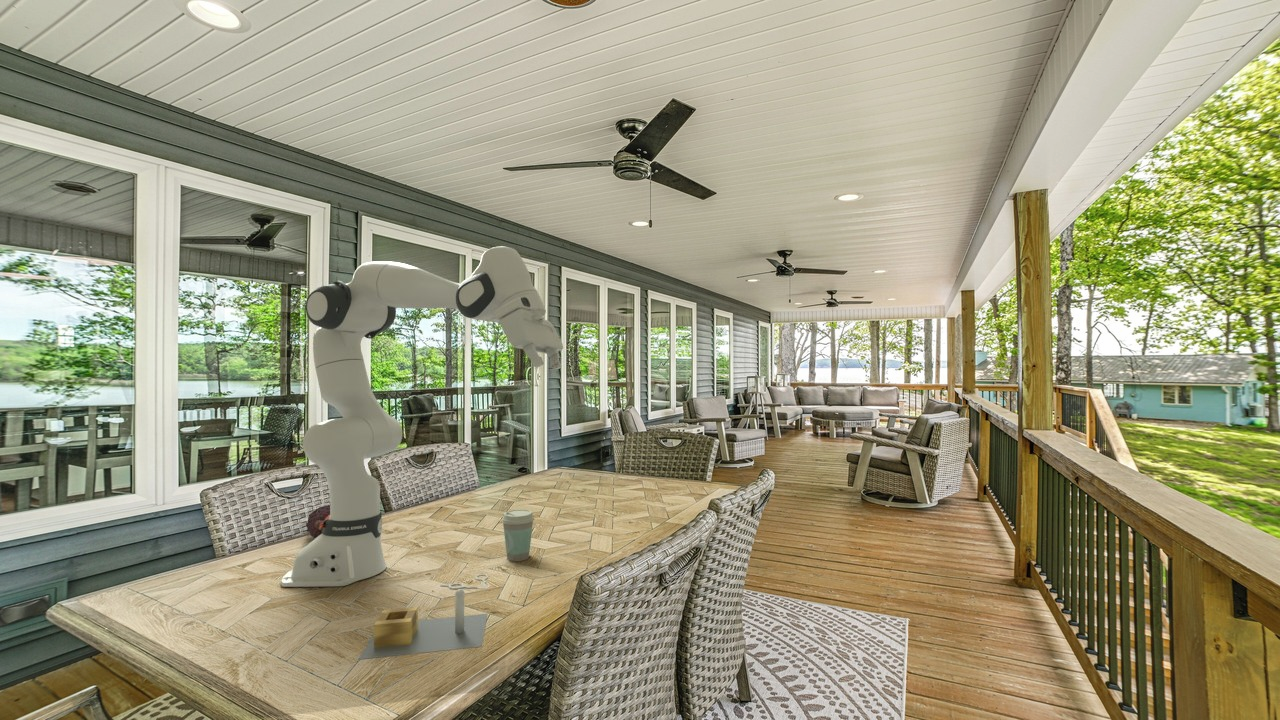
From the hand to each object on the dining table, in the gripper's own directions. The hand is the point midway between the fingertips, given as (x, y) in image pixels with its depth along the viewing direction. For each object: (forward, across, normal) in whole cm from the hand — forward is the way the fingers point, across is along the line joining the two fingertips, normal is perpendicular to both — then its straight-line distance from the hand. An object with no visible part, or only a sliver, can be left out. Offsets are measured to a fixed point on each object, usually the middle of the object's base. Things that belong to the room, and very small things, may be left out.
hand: (548, 367), depth 114 cm
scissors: (+38, -6, -39) cm, 55 cm away
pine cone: (+8, -29, -99) cm, 103 cm away
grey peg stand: (+40, +18, -36) cm, 57 cm away
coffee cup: (+36, -27, -40) cm, 61 cm away
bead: (+37, +20, -40) cm, 58 cm away
